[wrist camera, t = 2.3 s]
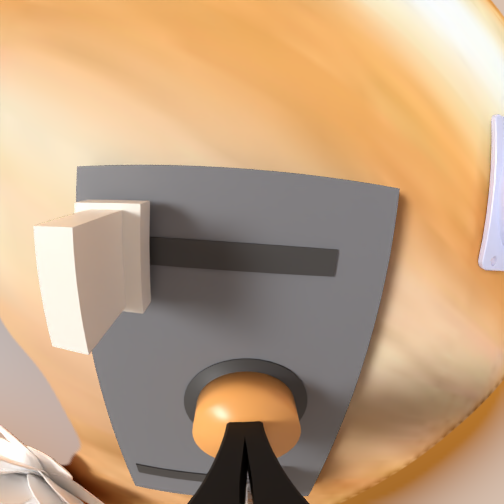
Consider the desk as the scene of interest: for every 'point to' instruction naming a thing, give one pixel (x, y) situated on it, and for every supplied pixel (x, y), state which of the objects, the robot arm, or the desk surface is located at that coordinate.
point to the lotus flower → (35, 477)
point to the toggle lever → (93, 269)
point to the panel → (241, 305)
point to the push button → (246, 410)
